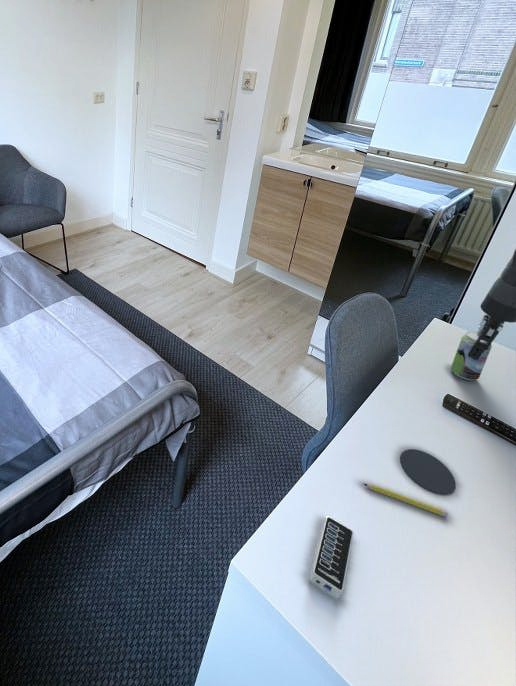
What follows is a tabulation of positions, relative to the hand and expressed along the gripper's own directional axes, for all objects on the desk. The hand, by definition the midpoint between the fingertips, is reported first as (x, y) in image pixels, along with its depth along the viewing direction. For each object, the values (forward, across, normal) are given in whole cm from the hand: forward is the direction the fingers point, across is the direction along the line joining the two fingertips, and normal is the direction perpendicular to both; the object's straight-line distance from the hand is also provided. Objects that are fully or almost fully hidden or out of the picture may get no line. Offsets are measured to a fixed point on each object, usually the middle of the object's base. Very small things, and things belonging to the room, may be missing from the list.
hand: (474, 350), depth 108 cm
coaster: (+8, -41, 0) cm, 42 cm away
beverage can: (+8, 0, 0) cm, 8 cm away
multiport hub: (+8, -72, +8) cm, 73 cm away
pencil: (+8, -52, +2) cm, 52 cm away
